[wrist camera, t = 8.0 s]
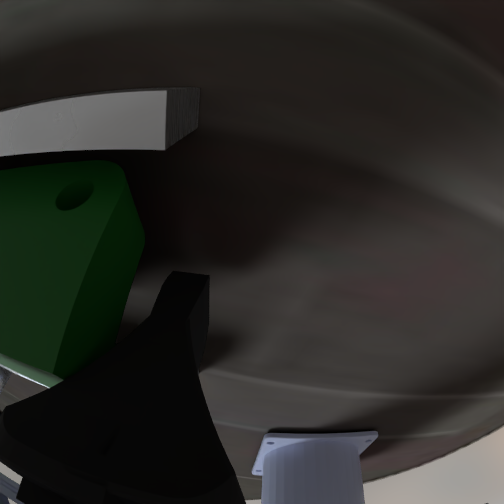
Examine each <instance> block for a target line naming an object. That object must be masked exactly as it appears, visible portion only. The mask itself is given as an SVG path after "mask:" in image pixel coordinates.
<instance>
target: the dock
mask: <svg viewBox="0 0 504 504" xmlns="http://www.w3.org/2000/svg"><path fill="white" fill-rule="evenodd" d="M199 99H200V88H194V87H168V88H140V89H124V90H112V91H102V92H93V93H85V94H77V95H70V96H64V97H58V98H52V99H47V100H42V101H37V102H32V103H27V104H23V105H18V106H14V107H10V108H6V109H3V110H0V156H8V155H17V154H28V153H40V152H54V151H73V150H107V149H140V150H166V149H167V148H169V147H170V146H172V145H173V144H174V143H176V142H177V141H179V140H180V139H182V138H183V137H185V136H186V135H188V134H189V133H191V132H192V131H194V130H195V129H197V128H198V115H199ZM115 345H117V344H115ZM12 373H15V374H18V375H20V376H22V377H24V378H27V379H29V380H31V381H34V380H32V379H30V378H28V377H26V376H24V375H22V374H20V373H17V372H15V371H13V370H11V369H9V368H7V367H5V366H3V365H1V364H0V394H1V392H2V390H3V388H4V387H5V385H6V383H7V381H8V380H9V378H10V376H11V374H12ZM198 376H199V370H198ZM34 382H36V381H34ZM36 383H38V384H41V383H39V382H36ZM41 385H43V384H41ZM43 386H45V385H43ZM46 387H47V386H46ZM48 388H50V387H48Z"/></svg>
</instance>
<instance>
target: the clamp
mask: <svg viewBox="0 0 504 504" xmlns="http://www.w3.org/2000/svg"><path fill="white" fill-rule="evenodd" d="M144 245H145V232H144V229H143V226H142V224H141V221H140V218H139V215H138V212H137V210H136V207H135V204H134V201H133V198H132V195H131V192H130V189H129V186H128V183H127V180H126V177H125V174H124V171H123V169H122V168H121V167H120V166H119V165H118V164H116V163H114V162H111V161H107V160H90V161H76V162H65V163H54V164H45V165H36V166H28V167H20V168H13V169H6V170H0V364H1V365H3V366H5V367H7V368H9V369H11V370H13V371H15V372H17V373H20V374H22V375H24V376H26V377H28V378H30V379H32V380H34V381H36V382H39V383H41V384H43V385H45V386H47V387H50V388H51V387H52V386H54V385H56V384H58V383H60V382H62V381H63V380H65V379H67V378H69V377H71V376H72V375H74V374H76V373H77V372H79V371H81V370H82V369H84V368H85V367H87V366H88V365H90V364H91V363H93V362H94V361H96V360H97V359H98V358H100V357H101V356H103V355H104V354H106V353H107V352H108V351H110V350H111V349H112V348H113V347H115V346H116V345H115V342H116V338H117V334H118V330H119V327H120V323H121V319H122V316H123V312H124V309H125V305H126V302H127V299H128V295H129V292H130V289H131V285H132V282H133V279H134V276H135V273H136V270H137V267H138V264H139V261H140V258H141V255H142V252H143V249H144Z"/></svg>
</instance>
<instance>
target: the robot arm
mask: <svg viewBox="0 0 504 504" xmlns="http://www.w3.org/2000/svg"><path fill="white" fill-rule="evenodd" d="M209 281H210V275H203V274H194V273H186V272H178V271H173V272H172V273H171V274H170V275H169V276H168V277H167V279H166V280H165V282H164V283H163V285H162V287H161V290H160V292H159V294H158V297H157V299H156V302H155V304H154V307H153V309H152V312H151V315H150V316H149V317H148V318H147V319H146V320H145V321H144V322H143V323H141V324H140V325H139V326H138V327H137V328H136V329H135V330H134V331H133V332H132V333H131V334H129V335H128V336H127V337H126V338H125V339H123V340H122V341H121V342H120V343H119V344H117V345H116V346H115V347H113V348H112V349H111V350H110V351H108V352H107V353H106V354H104V355H103V356H101V357H100V358H98V359H97V360H96V361H94V362H93V363H91V364H90V365H88V366H87V367H85V368H84V369H82V370H81V371H79V372H77V373H76V374H74V375H72V376H71V377H69V378H67V379H65V380H63V381H62V382H60V383H58V384H56V385H54V386H52V387H51V388H49V389H47V390H45V391H42V392H40V393H38V394H36V395H33V396H31V397H29V398H26V399H24V400H21V401H19V402H16V403H14V404H11V405H9V406H6V407H5V409H4V410H3V412H2V414H1V416H0V462H2V463H3V464H4V465H6V466H7V467H9V468H10V469H12V470H13V471H14V472H16V473H17V474H19V475H20V476H22V477H23V478H22V481H21V484H20V485H19V484H18V483H16V482H14V481H13V480H11V479H9V478H8V477H6V476H5V475H3V474H2V473H0V504H9V501H8V498H9V499H11V500H13V501H14V502H16V503H17V504H246V502H245V499H244V496H243V493H242V491H241V488H240V485H239V482H238V480H237V477H236V474H235V471H234V469H233V467H232V465H231V463H230V461H229V459H228V457H227V455H226V452H225V450H224V448H223V446H222V443H221V441H220V439H219V436H218V434H217V431H216V429H215V426H214V424H213V421H212V418H211V416H210V413H209V410H208V407H207V404H206V400H205V397H204V394H203V391H202V388H201V384H200V380H199V376H198V370H199V366H200V363H201V359H202V356H203V353H204V349H205V343H206V337H207V332H208V326H209ZM377 437H378V432H377V431H365V432H351V433H326V434H293V433H267V434H265V435H264V438H263V441H262V444H261V447H260V449H259V452H258V455H257V458H256V461H255V463H254V466H253V469H252V474H254V475H263V477H262V499H261V504H365V501H364V491H363V482H362V474H361V465H360V458H359V455H360V454H361V453H362V452H363V451H364V450H365V449H366V448H367V447H368V446H369V445H370V444H371V443H372V442H373V441H374V440H375V439H376V438H377ZM7 497H8V498H7ZM486 504H488V503H486Z"/></svg>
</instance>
